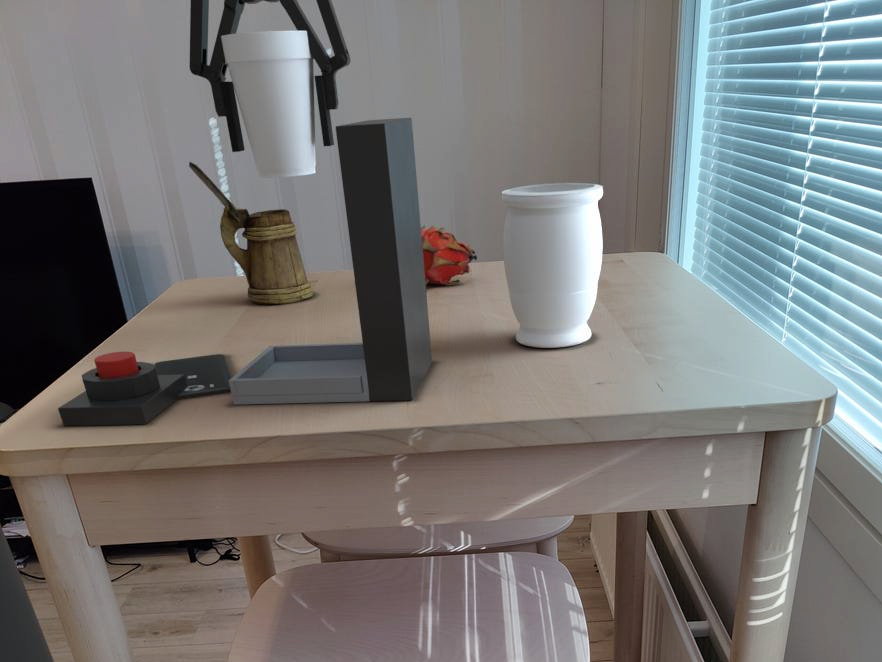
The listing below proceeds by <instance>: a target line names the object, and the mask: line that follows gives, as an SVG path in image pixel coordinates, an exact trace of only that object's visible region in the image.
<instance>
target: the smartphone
mask: <svg viewBox="0 0 882 662" xmlns="http://www.w3.org/2000/svg"><path fill="white" fill-rule="evenodd" d="M153 364H154V366H155V369H156V373H157V375H181V374H184V376H185V380H186V384H187V388H186V389H185V390H184V391H183V392H181V393H180V394H179V395H178V400H177V401H180V400H186V399H193V398H202V397H207V396H214V395H215V396H216V395H221V394H228V393H231V390H230V385H229V380H230V379H231V378H232V376H231V372H230V369H229V366H228V363H227V360H226V356H225V355H224V354H222V353H218V354H209V355H200V356H194V357H185V358H177V359H170V360H169V359H168V360H162V361H157V362H155V363H153Z"/></svg>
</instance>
